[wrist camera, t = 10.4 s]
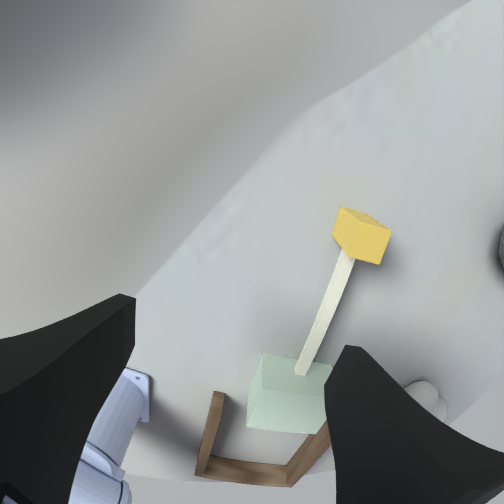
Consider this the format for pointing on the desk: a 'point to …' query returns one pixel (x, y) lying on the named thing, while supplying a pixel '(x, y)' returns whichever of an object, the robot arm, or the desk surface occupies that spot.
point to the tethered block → (312, 341)
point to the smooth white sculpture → (428, 398)
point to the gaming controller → (501, 248)
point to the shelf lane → (250, 470)
